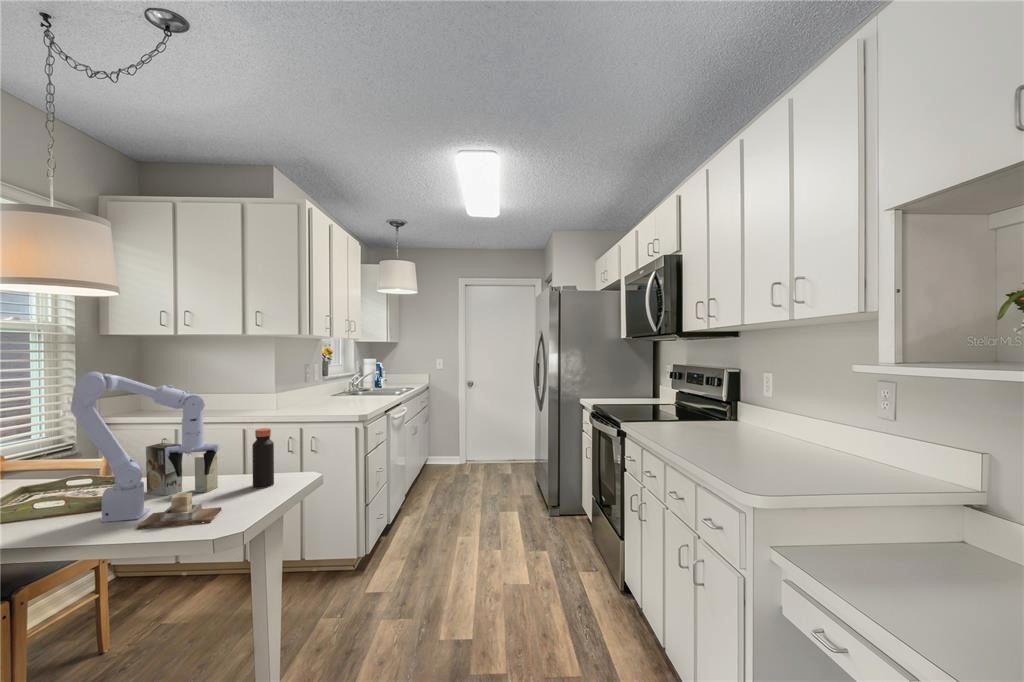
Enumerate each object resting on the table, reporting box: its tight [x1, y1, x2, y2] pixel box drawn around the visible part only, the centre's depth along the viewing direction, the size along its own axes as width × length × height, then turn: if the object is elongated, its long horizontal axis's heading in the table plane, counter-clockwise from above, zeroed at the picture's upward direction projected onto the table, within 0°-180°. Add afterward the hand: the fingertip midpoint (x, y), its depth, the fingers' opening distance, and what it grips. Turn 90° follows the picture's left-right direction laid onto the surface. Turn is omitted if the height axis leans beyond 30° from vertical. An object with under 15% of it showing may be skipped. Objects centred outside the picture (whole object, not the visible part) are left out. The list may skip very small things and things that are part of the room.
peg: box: [170, 492, 193, 513], centre depth 145 cm, size 4×4×6 cm
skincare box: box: [194, 452, 219, 493], centre depth 172 cm, size 6×4×12 cm
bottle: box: [251, 427, 275, 488], centre depth 177 cm, size 7×7×20 cm
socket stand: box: [137, 502, 222, 530], centre depth 145 cm, size 18×10×3 cm, turn 105°
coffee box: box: [145, 442, 183, 497], centre depth 169 cm, size 9×6×16 cm
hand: (193, 475), depth 157 cm, fingers open, 7 cm apart
